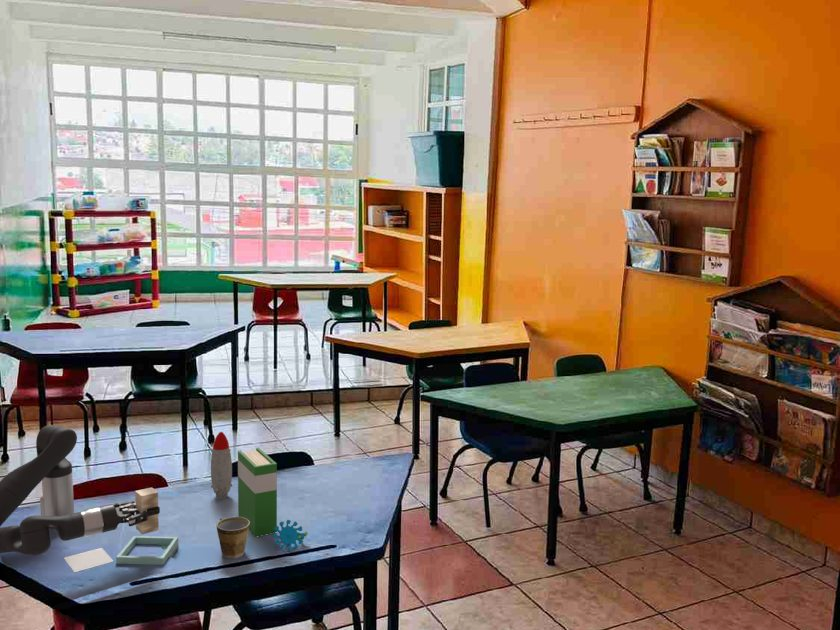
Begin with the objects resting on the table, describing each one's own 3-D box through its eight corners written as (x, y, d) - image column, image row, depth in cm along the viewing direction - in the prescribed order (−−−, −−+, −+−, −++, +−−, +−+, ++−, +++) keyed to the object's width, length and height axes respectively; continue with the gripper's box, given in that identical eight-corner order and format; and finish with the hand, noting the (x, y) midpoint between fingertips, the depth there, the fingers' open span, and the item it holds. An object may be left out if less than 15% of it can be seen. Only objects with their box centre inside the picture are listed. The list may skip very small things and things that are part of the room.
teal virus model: (273, 549, 230) (273, 518, 236) (270, 556, 235) (270, 525, 240) (308, 549, 234) (307, 519, 240) (304, 556, 238) (303, 526, 244)
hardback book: (238, 517, 257) (237, 450, 253) (258, 512, 260) (258, 447, 257) (255, 537, 242) (254, 467, 238) (276, 532, 246) (276, 463, 242)
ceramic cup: (256, 554, 230) (255, 524, 229) (227, 564, 223) (227, 533, 222) (234, 540, 239) (234, 510, 238) (206, 549, 232) (205, 519, 231)
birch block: (142, 534, 221) (141, 496, 219) (136, 528, 224) (135, 490, 223) (158, 530, 224) (158, 492, 222) (152, 524, 228) (151, 487, 226)
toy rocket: (224, 490, 279) (223, 426, 275) (236, 497, 274) (235, 432, 270) (206, 495, 274) (205, 430, 270) (218, 502, 268) (217, 436, 264)
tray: (116, 568, 219) (115, 557, 219) (134, 546, 233) (133, 535, 232) (163, 569, 219) (163, 558, 219) (178, 547, 233) (178, 537, 233)
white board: (74, 577, 213) (74, 572, 213) (63, 562, 221) (63, 557, 221) (113, 565, 220) (113, 561, 220) (101, 552, 229) (101, 547, 228)
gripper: (90, 524, 220) (147, 510, 231) (106, 541, 209) (165, 526, 220) (89, 500, 219) (146, 487, 230) (105, 516, 208) (164, 502, 219)
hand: (155, 506), depth 225 cm, fingers closed on birch block, 5 cm apart
